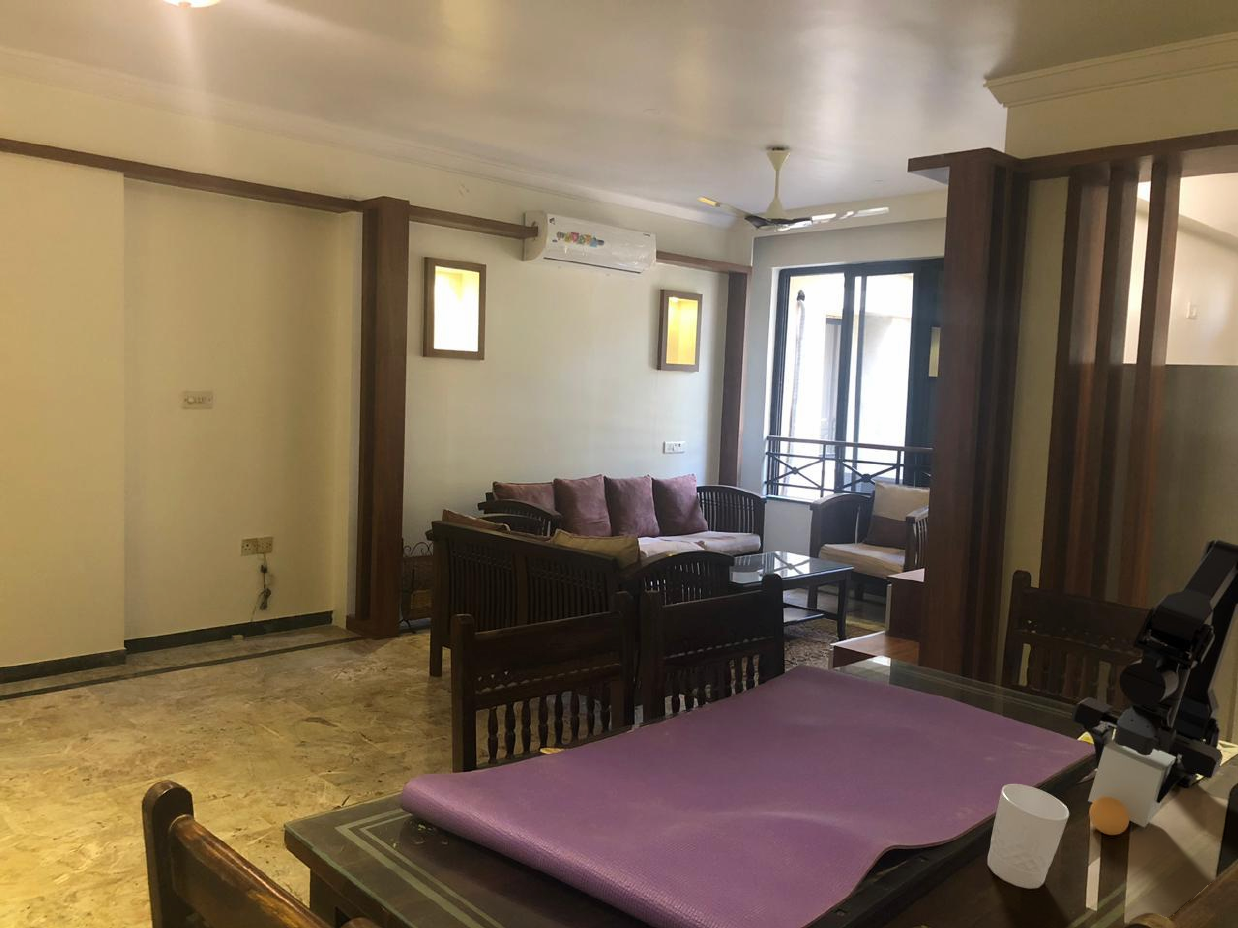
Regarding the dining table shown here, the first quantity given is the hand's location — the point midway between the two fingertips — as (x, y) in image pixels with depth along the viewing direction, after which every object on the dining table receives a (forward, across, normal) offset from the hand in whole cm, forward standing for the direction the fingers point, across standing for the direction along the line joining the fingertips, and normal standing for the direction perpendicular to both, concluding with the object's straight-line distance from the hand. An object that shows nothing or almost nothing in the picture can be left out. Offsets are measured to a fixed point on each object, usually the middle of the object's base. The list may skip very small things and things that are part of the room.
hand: (1128, 788), depth 138 cm
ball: (+2, 0, -8) cm, 8 cm away
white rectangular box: (+3, 0, 0) cm, 3 cm away
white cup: (+5, -4, -31) cm, 32 cm away
